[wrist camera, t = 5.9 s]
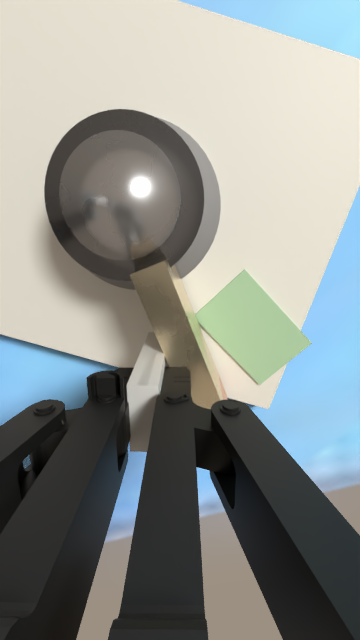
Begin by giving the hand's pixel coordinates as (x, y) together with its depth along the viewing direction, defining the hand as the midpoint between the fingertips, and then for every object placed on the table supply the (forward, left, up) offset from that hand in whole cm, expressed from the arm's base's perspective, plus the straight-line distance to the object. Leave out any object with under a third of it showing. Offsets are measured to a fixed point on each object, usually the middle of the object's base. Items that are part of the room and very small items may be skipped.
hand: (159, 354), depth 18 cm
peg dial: (-1, +4, -1) cm, 4 cm away
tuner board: (-3, +7, -3) cm, 9 cm away
